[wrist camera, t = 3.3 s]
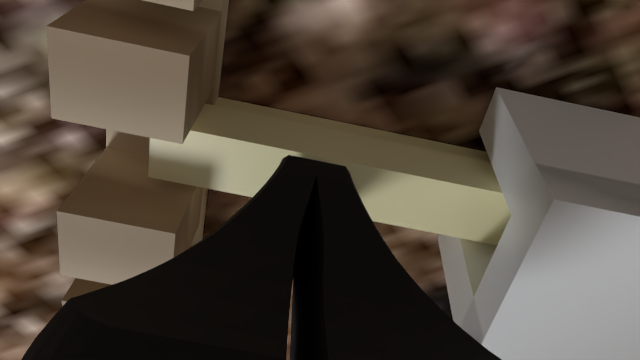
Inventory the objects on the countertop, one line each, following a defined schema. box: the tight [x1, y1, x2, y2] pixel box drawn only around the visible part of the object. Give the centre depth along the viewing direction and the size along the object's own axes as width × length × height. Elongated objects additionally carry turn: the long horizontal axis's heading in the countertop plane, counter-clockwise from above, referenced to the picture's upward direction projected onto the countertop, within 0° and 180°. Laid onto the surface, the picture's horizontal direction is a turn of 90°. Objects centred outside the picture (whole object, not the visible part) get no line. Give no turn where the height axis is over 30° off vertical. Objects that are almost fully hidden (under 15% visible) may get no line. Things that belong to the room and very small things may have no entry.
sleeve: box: [438, 87, 640, 360], centre depth 13 cm, size 5×4×5 cm
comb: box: [46, 0, 229, 306], centre depth 13 cm, size 11×2×4 cm, turn 169°
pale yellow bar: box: [148, 97, 511, 245], centre depth 14 cm, size 1×23×2 cm, turn 78°
